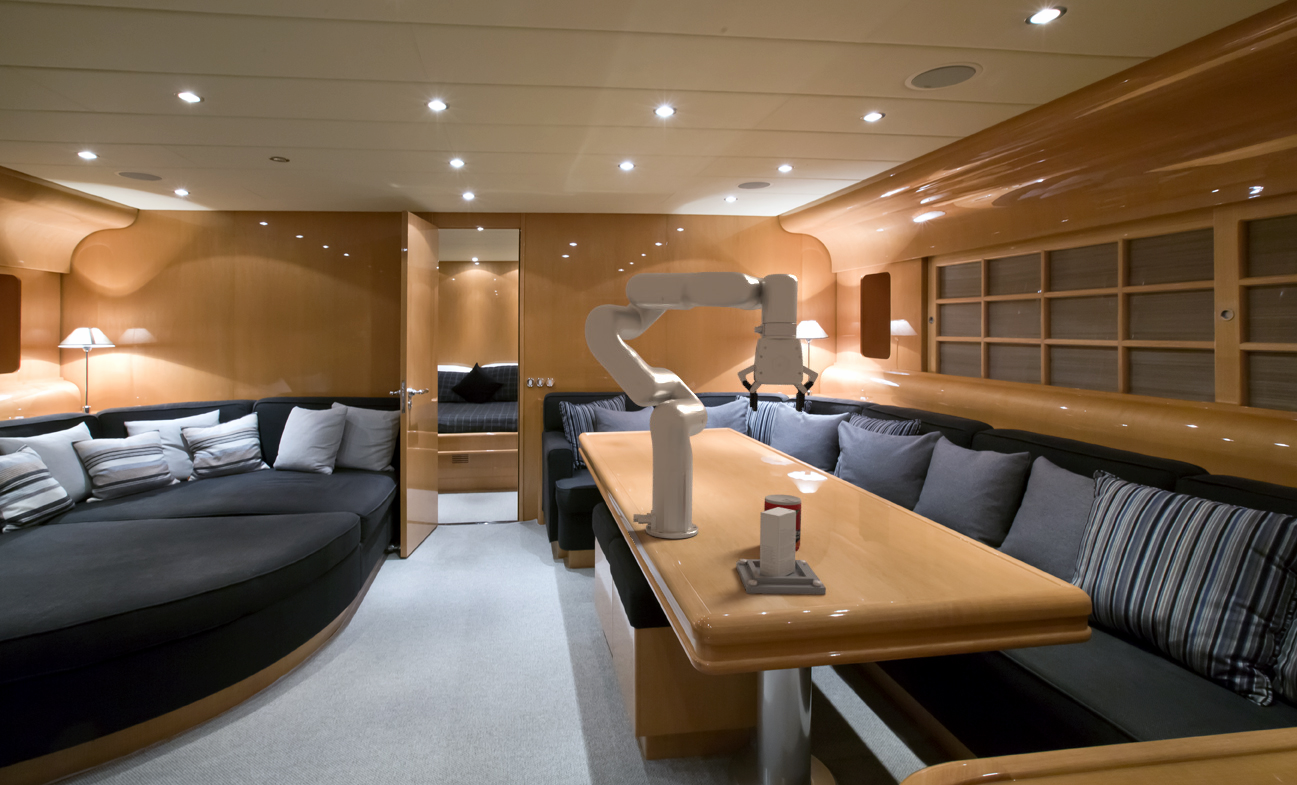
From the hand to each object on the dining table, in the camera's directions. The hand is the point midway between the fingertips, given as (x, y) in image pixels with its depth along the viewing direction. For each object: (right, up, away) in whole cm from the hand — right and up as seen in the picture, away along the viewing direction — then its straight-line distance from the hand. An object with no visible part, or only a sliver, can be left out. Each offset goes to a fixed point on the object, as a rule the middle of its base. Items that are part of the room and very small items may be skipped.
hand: (776, 411), depth 139 cm
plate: (-3, -31, -18) cm, 36 cm away
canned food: (+2, -30, +3) cm, 31 cm away
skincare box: (-4, -30, -18) cm, 36 cm away
